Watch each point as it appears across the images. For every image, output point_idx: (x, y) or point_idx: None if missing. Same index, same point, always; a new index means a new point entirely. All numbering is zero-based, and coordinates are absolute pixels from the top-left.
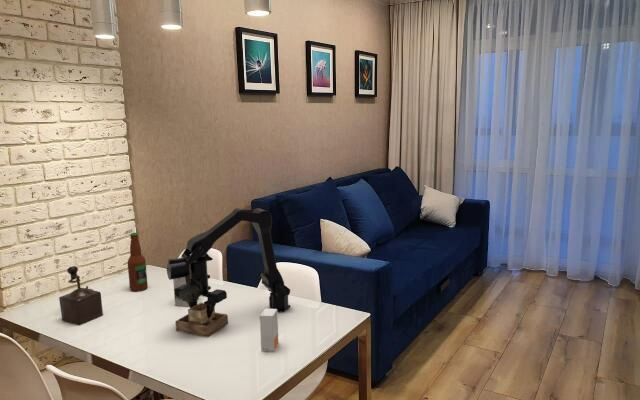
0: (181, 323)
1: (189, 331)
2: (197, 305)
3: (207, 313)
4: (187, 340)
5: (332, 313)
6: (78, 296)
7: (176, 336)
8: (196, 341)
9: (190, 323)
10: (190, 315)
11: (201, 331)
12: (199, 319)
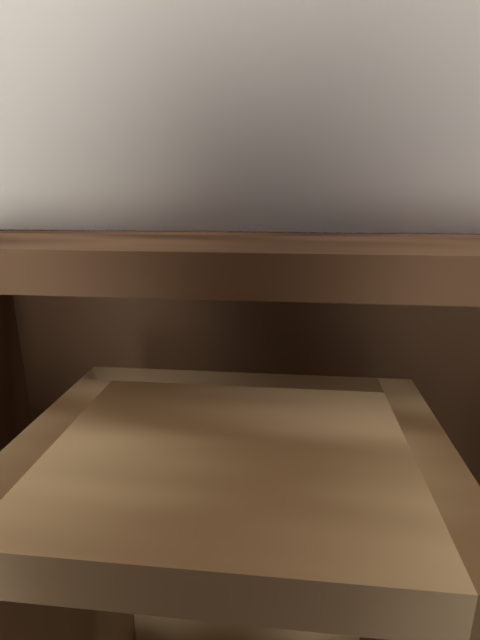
0: None
1: (301, 236)
2: None
3: None
4: (176, 20)
5: None
6: None
7: (438, 62)
8: (35, 54)
9: (286, 282)
10: (387, 454)
11: (53, 236)
12: (129, 410)
